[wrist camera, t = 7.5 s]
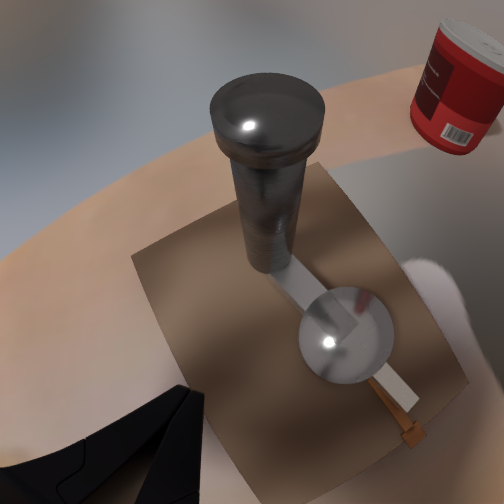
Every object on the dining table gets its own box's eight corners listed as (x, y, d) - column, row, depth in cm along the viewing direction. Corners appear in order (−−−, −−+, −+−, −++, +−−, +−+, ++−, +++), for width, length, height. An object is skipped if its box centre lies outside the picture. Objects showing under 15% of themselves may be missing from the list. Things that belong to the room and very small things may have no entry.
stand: (460, 390, 15) (474, 390, 13) (277, 515, 13) (278, 526, 11) (315, 174, 22) (318, 159, 20) (139, 264, 20) (129, 254, 18)
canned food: (486, 148, 23) (533, 73, 13) (444, 167, 22) (500, 72, 12) (440, 99, 26) (471, 21, 15) (392, 109, 25) (422, 14, 15)
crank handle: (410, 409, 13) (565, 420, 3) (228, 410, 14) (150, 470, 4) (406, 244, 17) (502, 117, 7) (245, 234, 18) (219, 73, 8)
